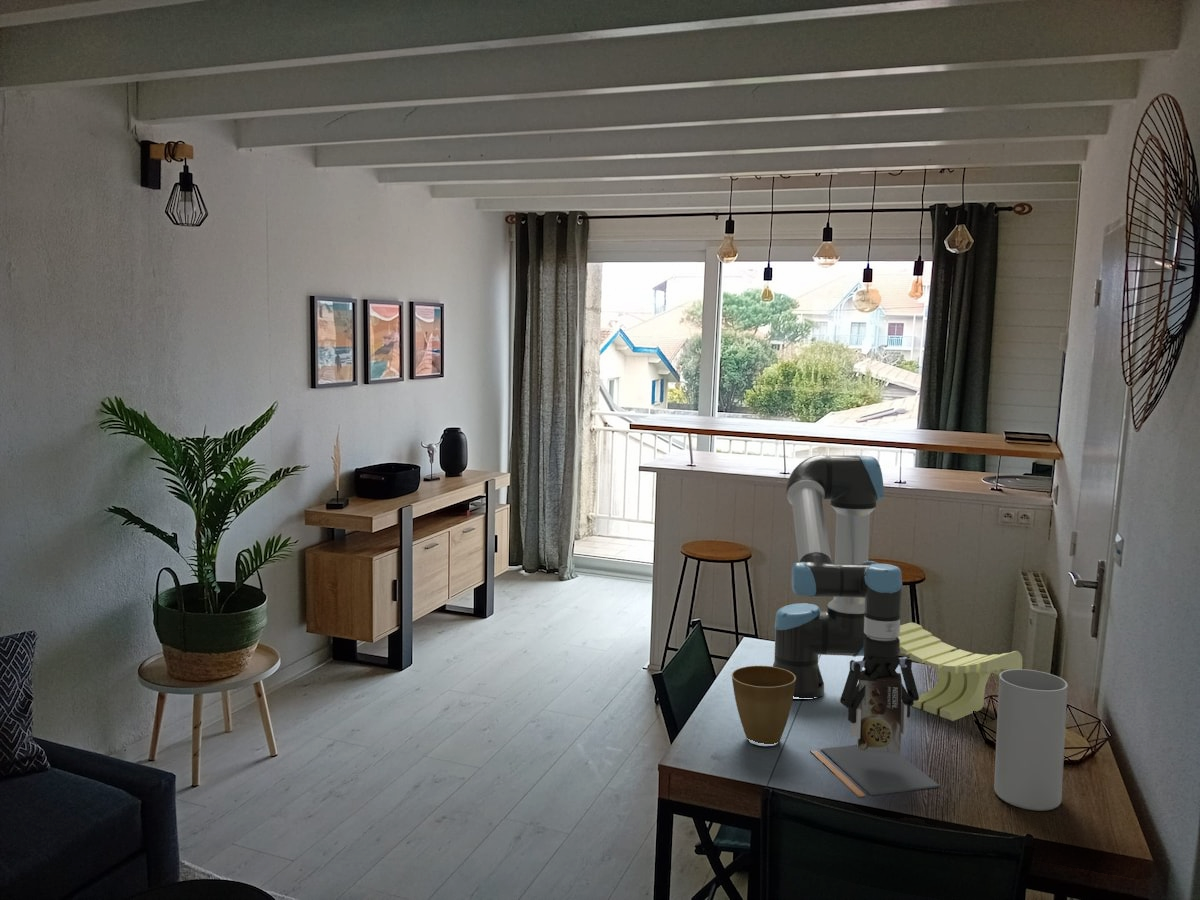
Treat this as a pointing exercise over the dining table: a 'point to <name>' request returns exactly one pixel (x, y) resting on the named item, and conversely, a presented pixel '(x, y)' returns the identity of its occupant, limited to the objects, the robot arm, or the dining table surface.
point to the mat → (879, 770)
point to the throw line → (839, 775)
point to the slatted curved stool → (953, 672)
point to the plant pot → (763, 701)
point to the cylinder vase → (1030, 739)
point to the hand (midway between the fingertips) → (878, 733)
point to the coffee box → (881, 714)
